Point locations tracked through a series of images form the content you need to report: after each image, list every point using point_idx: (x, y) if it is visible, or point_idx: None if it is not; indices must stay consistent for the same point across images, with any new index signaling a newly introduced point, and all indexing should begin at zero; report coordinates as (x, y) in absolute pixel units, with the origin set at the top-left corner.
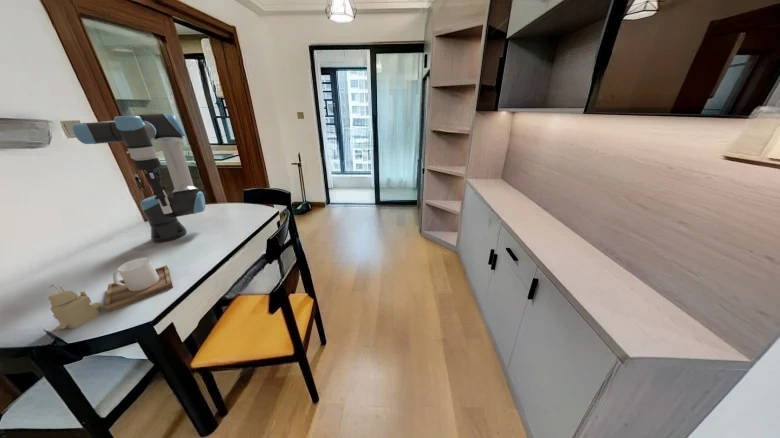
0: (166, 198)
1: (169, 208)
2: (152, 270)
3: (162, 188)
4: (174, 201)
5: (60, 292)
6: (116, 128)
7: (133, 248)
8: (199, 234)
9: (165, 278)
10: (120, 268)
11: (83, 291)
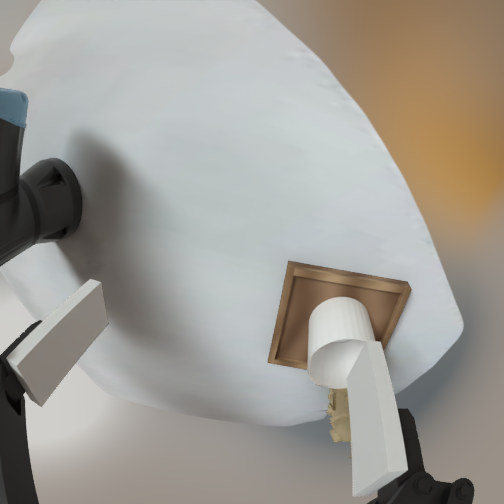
0: (405, 458)
1: (384, 376)
2: (366, 324)
3: (1, 376)
4: None
5: (350, 440)
6: None
7: (76, 275)
8: (94, 128)
9: (361, 287)
10: (323, 381)
11: (349, 415)
